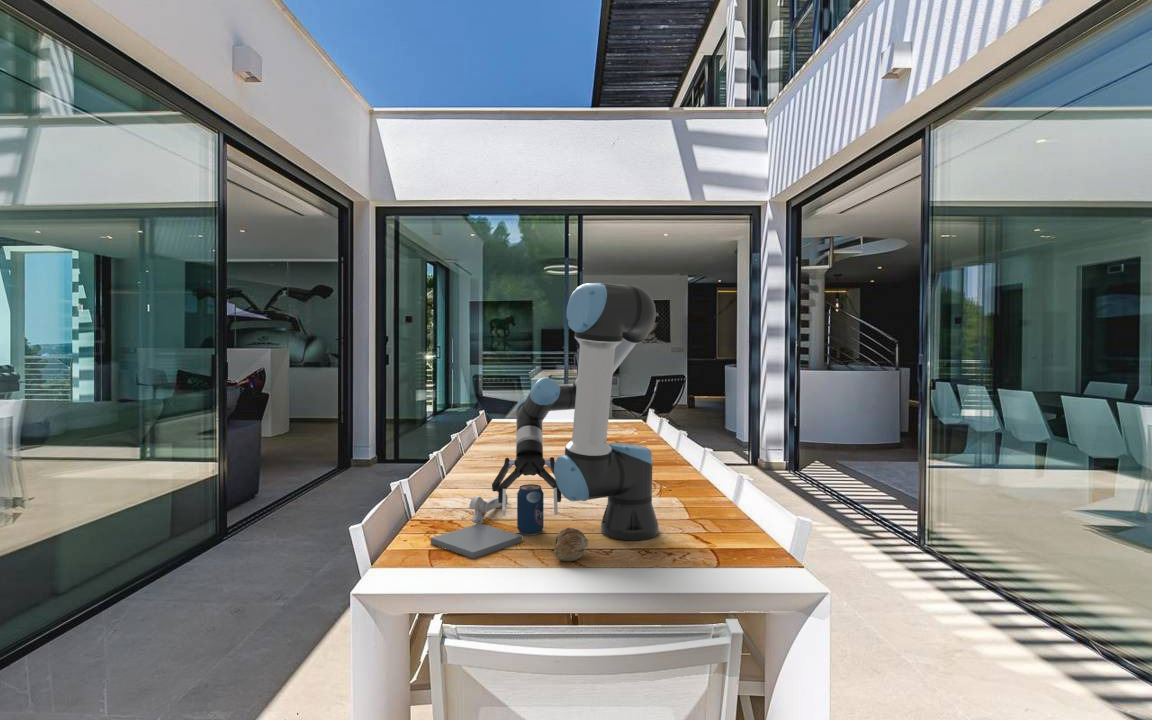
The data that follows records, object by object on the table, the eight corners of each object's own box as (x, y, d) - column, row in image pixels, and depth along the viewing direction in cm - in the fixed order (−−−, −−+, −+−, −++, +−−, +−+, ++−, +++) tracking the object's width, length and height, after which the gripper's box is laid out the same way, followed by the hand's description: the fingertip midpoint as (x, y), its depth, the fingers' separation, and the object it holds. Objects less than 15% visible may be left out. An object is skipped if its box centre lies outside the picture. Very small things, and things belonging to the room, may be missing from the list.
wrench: (507, 511, 192) (474, 529, 163) (501, 511, 192) (468, 528, 163) (508, 485, 193) (475, 498, 164) (502, 485, 193) (469, 498, 164)
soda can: (542, 536, 159) (542, 490, 158) (515, 535, 159) (515, 489, 159) (544, 527, 166) (544, 483, 165) (518, 527, 166) (518, 483, 166)
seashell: (590, 555, 146) (557, 550, 148) (593, 526, 146) (560, 521, 148) (582, 568, 137) (548, 562, 139) (585, 536, 137) (551, 531, 139)
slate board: (522, 541, 154) (522, 535, 154) (473, 558, 142) (473, 552, 142) (479, 528, 165) (479, 523, 165) (430, 543, 152) (430, 537, 152)
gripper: (572, 452, 179) (576, 518, 164) (485, 453, 177) (482, 520, 162) (573, 437, 173) (578, 504, 159) (484, 438, 171) (481, 506, 157)
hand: (530, 512), depth 160 cm, fingers open, 13 cm apart
